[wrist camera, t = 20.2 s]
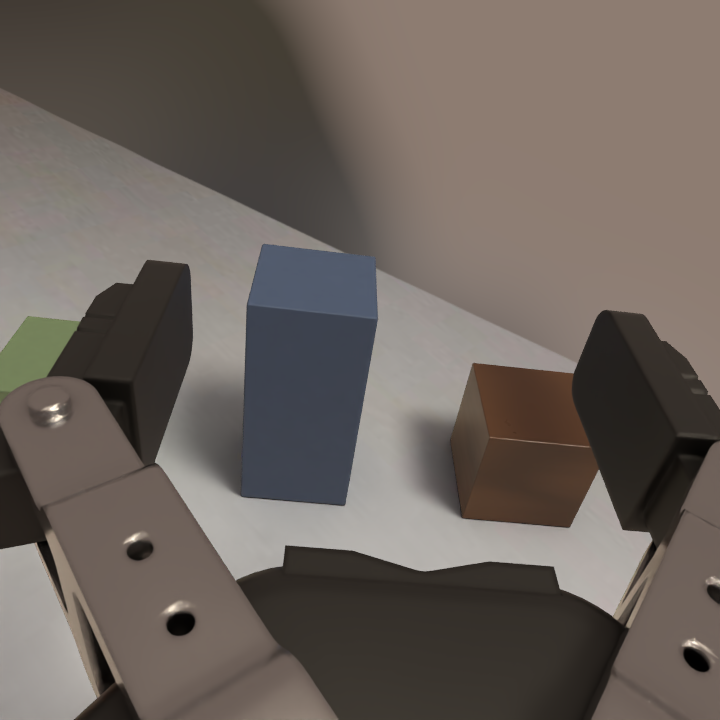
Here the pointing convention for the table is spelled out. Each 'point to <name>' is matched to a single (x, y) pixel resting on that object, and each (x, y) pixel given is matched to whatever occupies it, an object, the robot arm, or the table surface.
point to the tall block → (306, 372)
